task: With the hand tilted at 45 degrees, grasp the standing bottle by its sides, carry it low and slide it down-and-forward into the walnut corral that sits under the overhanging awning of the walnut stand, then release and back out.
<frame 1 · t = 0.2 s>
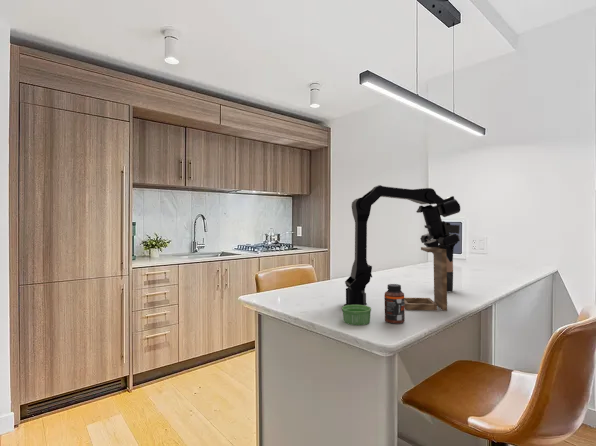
hand: (445, 260, 132), 16 cm above the countertop, tool tilted 15°, fingers open, 8 cm apart
travel mug: (444, 290, 154), on the countertop
supplement bottle: (394, 322, 107), on the countertop
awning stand: (418, 306, 126), on the countertop
ramekin: (356, 322, 108), on the countertop
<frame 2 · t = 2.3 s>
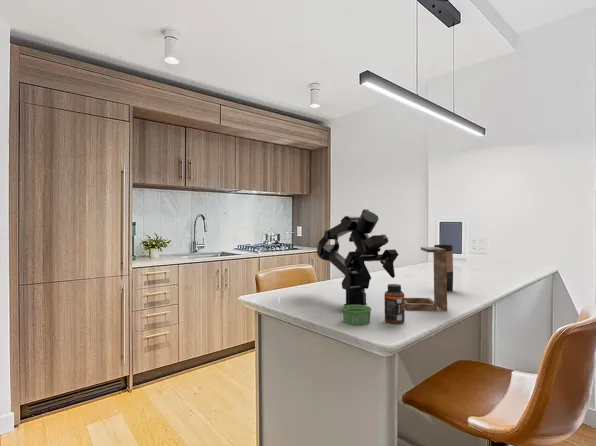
hand: (382, 278, 113), 12 cm above the countertop, tool tilted 45°, fingers open, 9 cm apart
nothing on the countertop moved.
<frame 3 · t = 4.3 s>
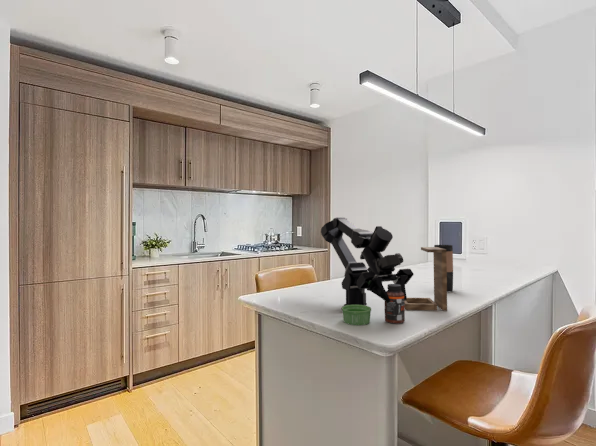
hand: (397, 300, 106), 7 cm above the countertop, tool tilted 45°, fingers closed on supplement bottle, 6 cm apart
supplement bottle: (394, 322, 107), on the countertop, touching gripper
everything else where it was.
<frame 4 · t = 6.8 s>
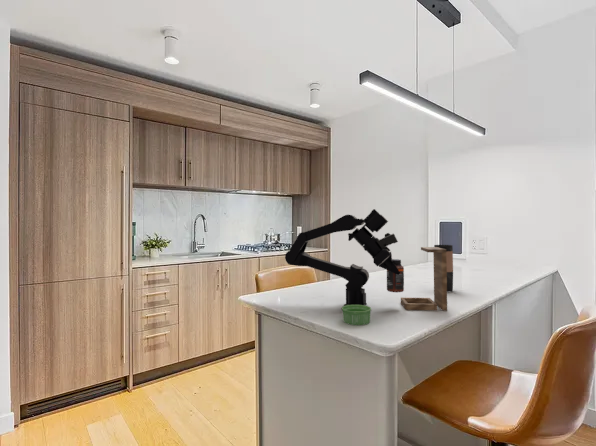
hand: (399, 272, 125), 13 cm above the countertop, tool tilted 45°, fingers closed on supplement bottle, 6 cm apart
supplement bottle: (395, 291, 125), point 6 cm above the countertop, touching gripper
everything else where it was.
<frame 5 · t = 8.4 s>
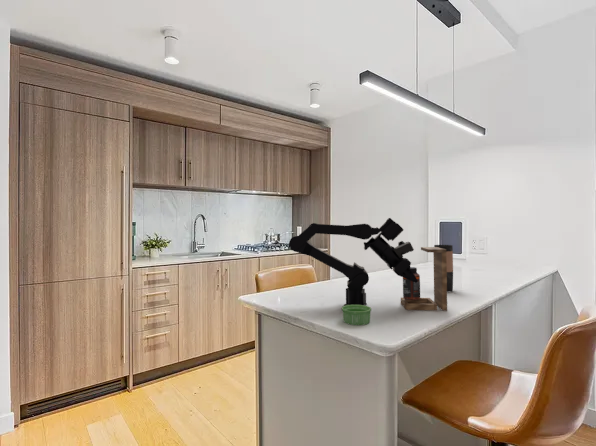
hand: (415, 280, 126), 9 cm above the countertop, tool tilted 45°, fingers closed on supplement bottle, 6 cm apart
supplement bottle: (411, 299, 126), point 2 cm above the countertop, touching gripper
everything else where it was.
when the fingers open (8 cm above the countertop, at t = 9.4 s): supplement bottle drops 2 cm, resting in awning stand.
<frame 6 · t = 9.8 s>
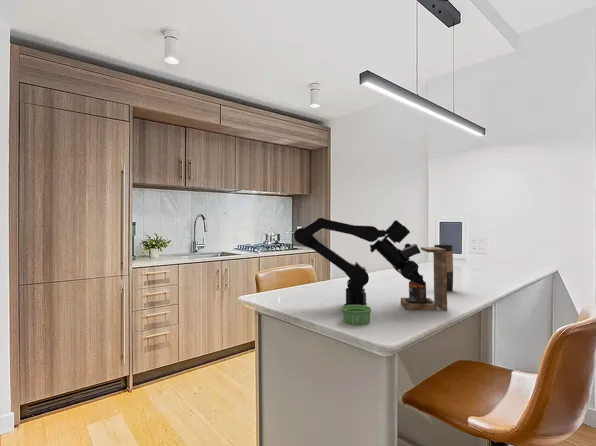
hand: (421, 282, 126), 9 cm above the countertop, tool tilted 45°, fingers open, 9 cm apart
supplement bottle: (417, 307, 126), resting in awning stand
everything else where it was.
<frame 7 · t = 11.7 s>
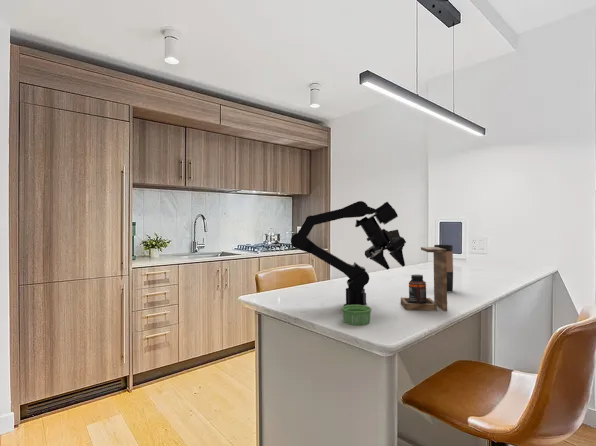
hand: (396, 267, 128), 14 cm above the countertop, tool tilted 30°, fingers open, 9 cm apart
nothing on the countertop moved.
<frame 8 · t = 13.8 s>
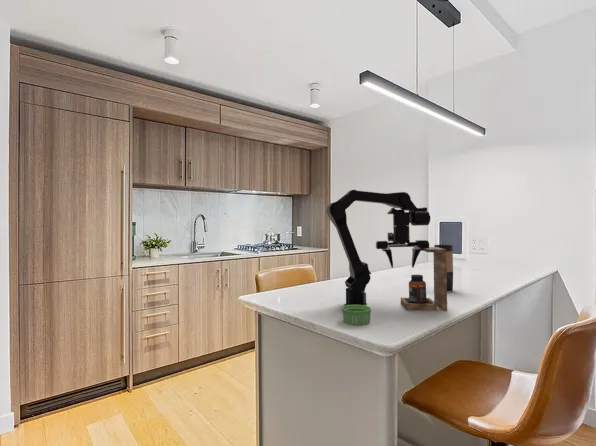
hand: (402, 267, 130), 13 cm above the countertop, tool pointing down, fingers open, 7 cm apart
nothing on the countertop moved.
at the end: supplement bottle 0.1 cm off-centre on the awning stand, point 0.0 cm above the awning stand's base; supplement bottle tilted 0°; the gripper is holding nothing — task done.
